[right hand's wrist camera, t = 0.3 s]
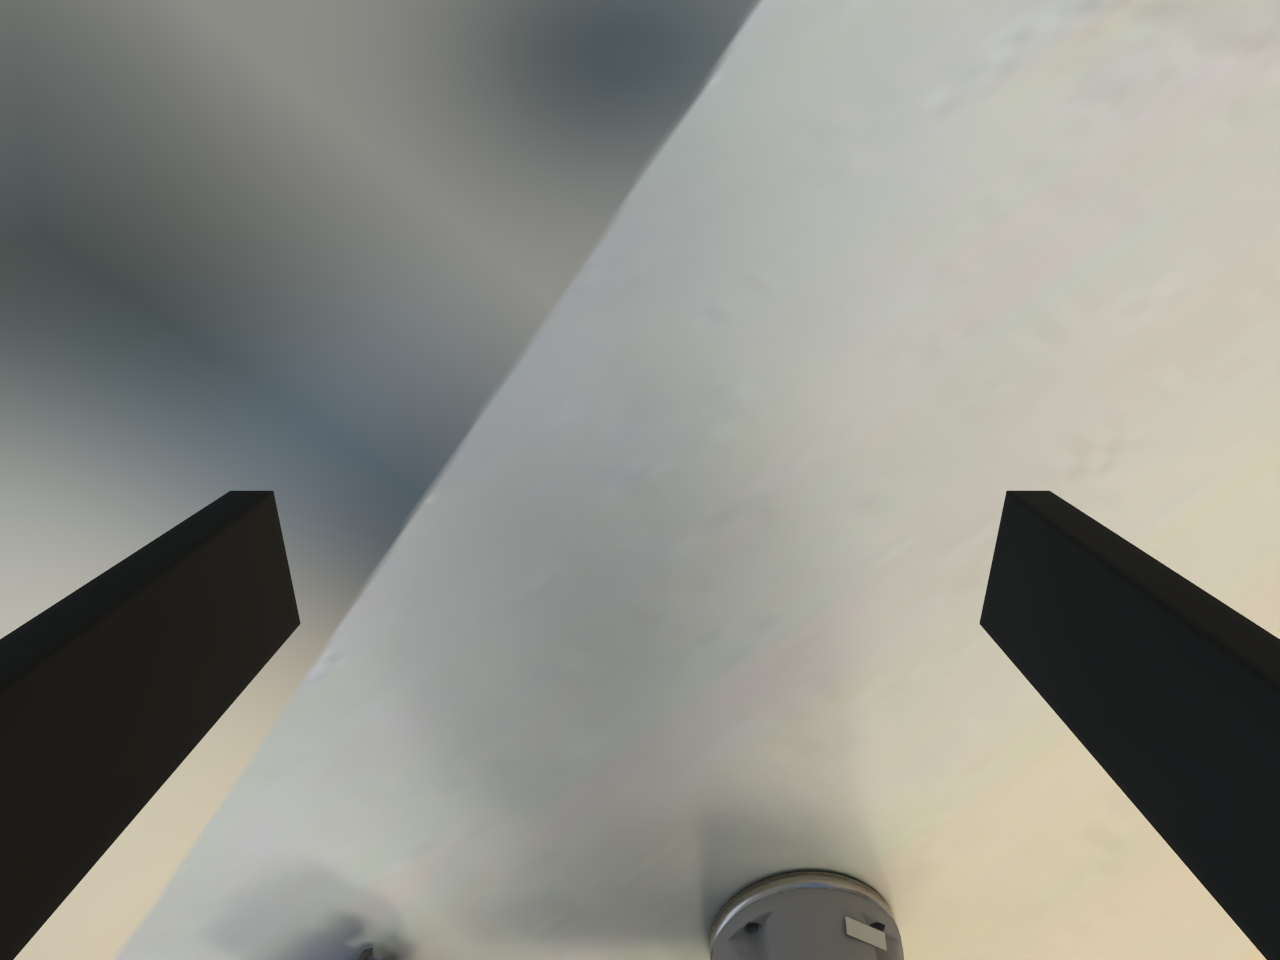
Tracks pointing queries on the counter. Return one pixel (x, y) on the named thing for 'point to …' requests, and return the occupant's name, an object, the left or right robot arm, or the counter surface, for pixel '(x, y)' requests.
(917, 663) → the counter surface
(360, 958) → the figurine character
